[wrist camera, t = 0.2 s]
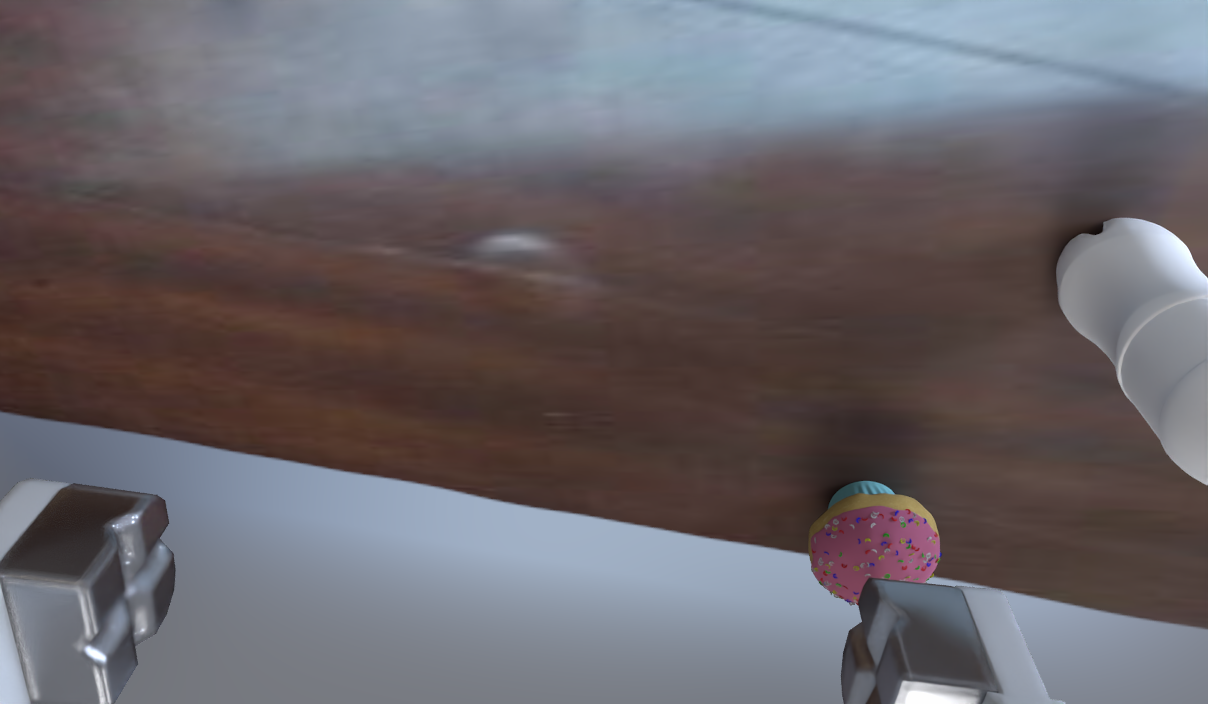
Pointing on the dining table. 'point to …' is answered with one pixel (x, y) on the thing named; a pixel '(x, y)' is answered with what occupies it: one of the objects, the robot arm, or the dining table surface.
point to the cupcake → (872, 540)
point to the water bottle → (1146, 326)
